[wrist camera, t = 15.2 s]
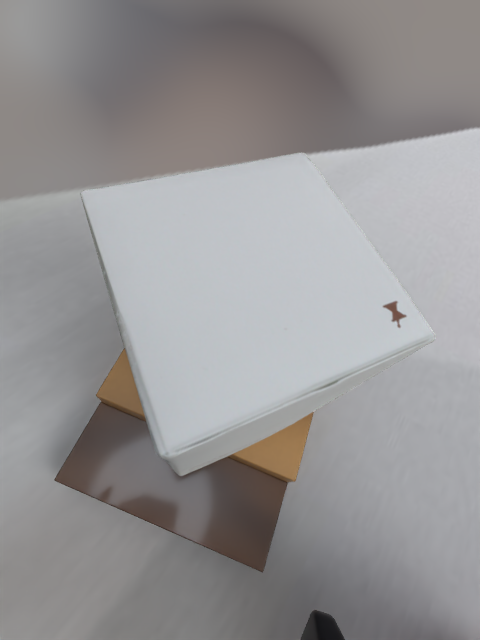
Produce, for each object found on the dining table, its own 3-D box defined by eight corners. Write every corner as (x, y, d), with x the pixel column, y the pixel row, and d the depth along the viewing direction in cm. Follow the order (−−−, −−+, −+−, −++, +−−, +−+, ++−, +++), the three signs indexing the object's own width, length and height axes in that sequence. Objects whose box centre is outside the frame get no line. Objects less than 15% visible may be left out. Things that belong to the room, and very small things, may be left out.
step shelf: (257, 566, 18) (284, 595, 14) (62, 480, 19) (21, 478, 14) (330, 305, 27) (363, 266, 22) (197, 250, 28) (200, 200, 23)
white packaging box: (245, 318, 22) (312, 144, 11) (296, 425, 19) (454, 341, 8) (133, 354, 20) (71, 181, 9) (174, 481, 17) (160, 470, 6)
